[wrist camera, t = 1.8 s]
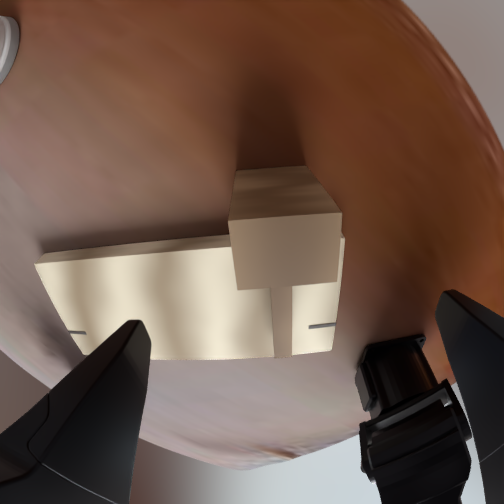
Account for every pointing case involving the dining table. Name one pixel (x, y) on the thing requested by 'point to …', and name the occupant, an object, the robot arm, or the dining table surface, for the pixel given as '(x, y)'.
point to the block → (283, 238)
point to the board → (181, 300)
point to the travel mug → (8, 44)
